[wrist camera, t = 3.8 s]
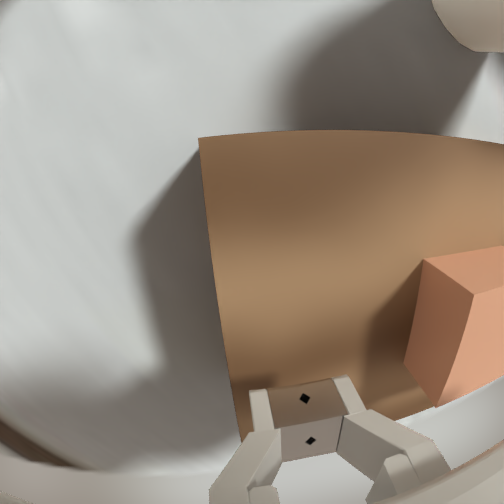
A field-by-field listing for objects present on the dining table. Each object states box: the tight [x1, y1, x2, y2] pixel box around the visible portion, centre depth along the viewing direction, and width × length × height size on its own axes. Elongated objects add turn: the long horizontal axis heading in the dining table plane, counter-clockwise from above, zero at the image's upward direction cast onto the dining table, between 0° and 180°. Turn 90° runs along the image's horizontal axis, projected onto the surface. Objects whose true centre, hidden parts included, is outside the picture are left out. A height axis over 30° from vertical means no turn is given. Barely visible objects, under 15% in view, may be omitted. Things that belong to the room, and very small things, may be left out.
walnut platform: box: [198, 130, 504, 442], centre depth 14 cm, size 14×22×6 cm, turn 94°
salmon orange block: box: [403, 246, 504, 408], centre depth 10 cm, size 5×5×3 cm
